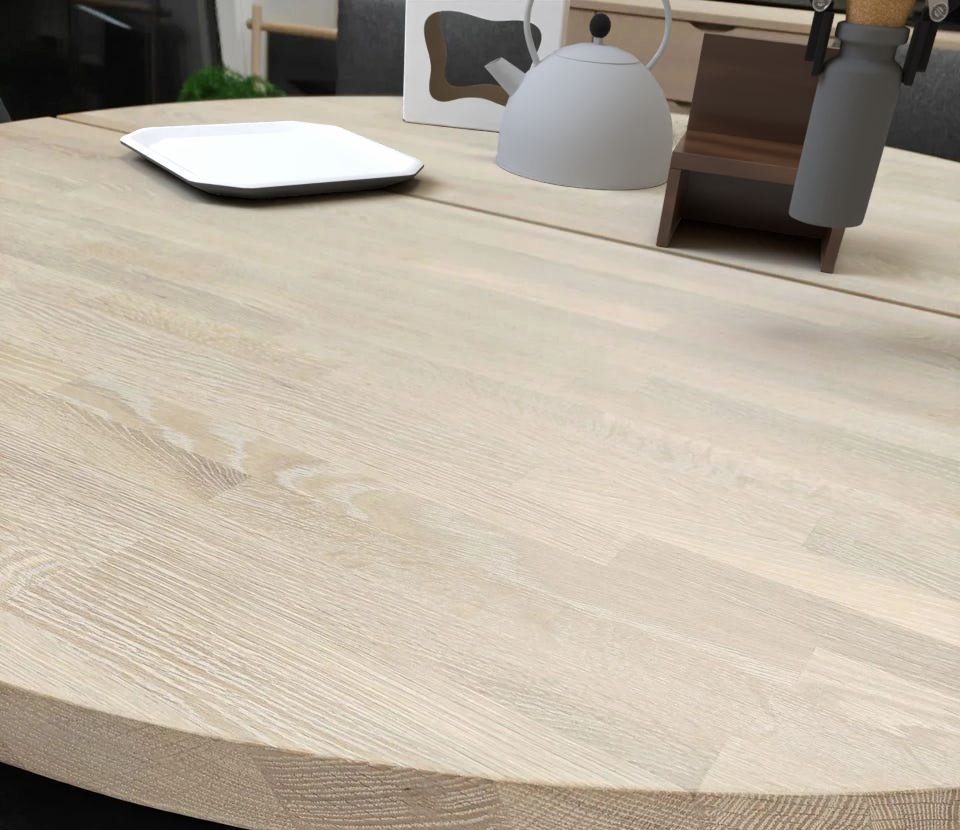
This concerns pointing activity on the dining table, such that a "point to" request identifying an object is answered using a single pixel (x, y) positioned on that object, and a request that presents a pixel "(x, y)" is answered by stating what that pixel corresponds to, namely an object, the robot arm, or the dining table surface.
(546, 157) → the kettle
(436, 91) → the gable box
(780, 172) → the brown wooden stand
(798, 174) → the bottle
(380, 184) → the plate
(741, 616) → the dining table surface
